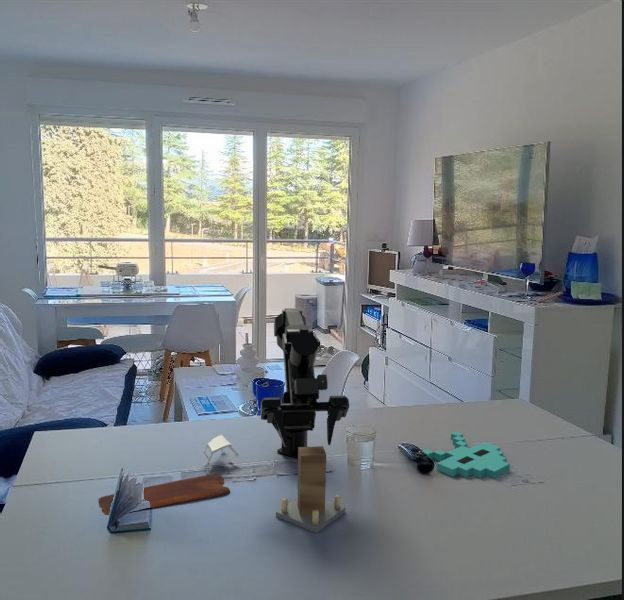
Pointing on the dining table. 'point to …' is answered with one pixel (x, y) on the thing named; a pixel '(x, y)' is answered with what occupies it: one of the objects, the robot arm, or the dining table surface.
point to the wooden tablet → (177, 491)
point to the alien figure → (470, 459)
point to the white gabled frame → (218, 447)
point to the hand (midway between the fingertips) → (307, 445)
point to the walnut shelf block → (311, 480)
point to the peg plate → (310, 521)
